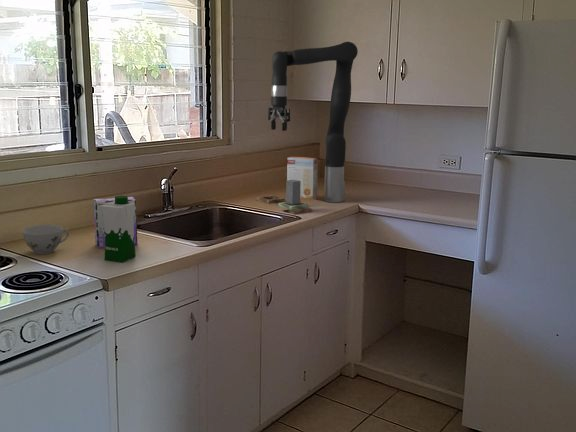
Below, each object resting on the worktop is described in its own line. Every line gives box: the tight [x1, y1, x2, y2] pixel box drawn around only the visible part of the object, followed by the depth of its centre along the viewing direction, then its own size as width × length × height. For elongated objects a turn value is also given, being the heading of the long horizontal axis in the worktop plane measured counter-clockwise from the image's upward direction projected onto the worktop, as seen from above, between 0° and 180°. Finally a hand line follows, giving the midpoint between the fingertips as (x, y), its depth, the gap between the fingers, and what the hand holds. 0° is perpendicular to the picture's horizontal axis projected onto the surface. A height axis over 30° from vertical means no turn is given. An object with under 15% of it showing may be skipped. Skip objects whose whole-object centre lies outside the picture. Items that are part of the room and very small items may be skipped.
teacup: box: [21, 224, 70, 255], centre depth 205 cm, size 15×12×8 cm
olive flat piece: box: [255, 195, 313, 215], centre depth 283 cm, size 10×30×3 cm, turn 38°
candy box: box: [93, 196, 138, 249], centre depth 213 cm, size 14×6×16 cm, turn 114°
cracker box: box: [286, 156, 319, 201], centre depth 299 cm, size 14×6×21 cm, turn 65°
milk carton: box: [100, 195, 136, 263], centre depth 196 cm, size 9×9×20 cm
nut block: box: [285, 179, 301, 206], centre depth 275 cm, size 4×4×12 cm
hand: (278, 130), depth 291 cm, fingers open, 8 cm apart
